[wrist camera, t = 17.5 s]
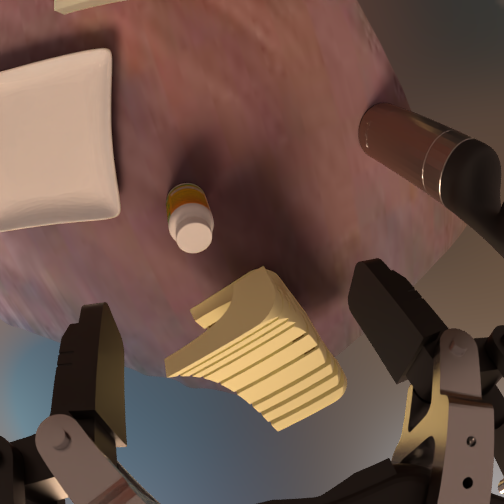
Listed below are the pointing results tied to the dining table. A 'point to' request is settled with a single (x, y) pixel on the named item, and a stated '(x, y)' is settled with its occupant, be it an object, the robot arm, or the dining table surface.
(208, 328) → the slatted curved stool
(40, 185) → the salad plate
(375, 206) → the dining table surface
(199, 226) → the supplement bottle
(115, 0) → the base block
